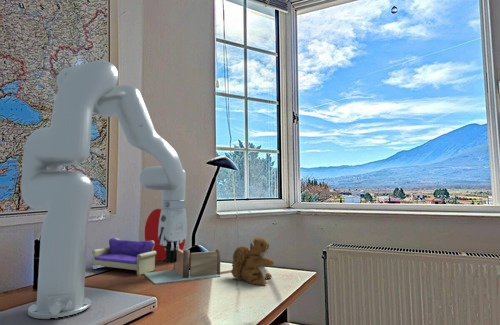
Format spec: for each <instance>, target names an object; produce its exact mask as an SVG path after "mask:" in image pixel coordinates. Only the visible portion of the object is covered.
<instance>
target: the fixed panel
mask: <svg viewBox="0 0 500 325" xmlns="http://www.w3.org/2000/svg"><path fill="white" fill-rule="evenodd" d="M182 251H183V278H189V276H199V275H208V274H218V275H220V276H221V255H222V254H221V252H222V250H221V249H219V248H218V249H215V250H214V251H213V250H212V251H201V252H199V251H198V252H190V249H184V250H182ZM189 268H190V275H189Z"/></svg>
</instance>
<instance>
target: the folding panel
mask: <svg viewBox="0 0 500 325" xmlns="http://www.w3.org/2000/svg"><path fill="white" fill-rule="evenodd" d="M173 270H176V271H177V272H178V273H180V274H181V275H182V276H183V250H181V249H179V247H178V250H177V262H175V263H173Z"/></svg>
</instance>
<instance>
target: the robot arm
mask: <svg viewBox="0 0 500 325" xmlns="http://www.w3.org/2000/svg"><path fill="white" fill-rule="evenodd" d="M118 80H119V72H118V69H117V67H116V66H115V65H114V63H112V62H109V61H107V60H101V59H100V60H99V59H97V60H92V61H90V62H84V63H81V64H80V63H79V64H77V65H72V66H68V67H67V66H66V67H65V68H63V69H61V70H60V71H59V73H58V74H57V77H56V85H57V88H58V90H57V92H56V94H55V96H54V101H53V106H52V113H51V121H50V126H45V127H40V128H38V129H36V130H34V131H32V133H30V134H29V136H28V137H27V139H26V141H25V143H24V147H23V154H22V166H21V167H22V169H21V178H20V179H21V183H20V191H21V192H20V193H21V197H22V199H23V201H24V203H25V204H26V206H28V207H30V208H31V209H32V210H33V209H34V210H36V211H37V210H38V211H44V212H45V211H47V213H46V215H45V218H44V220H43V222H42V227H41V228H40V229H41V232H40V239H39V240H40V243H39V260H38V261H39V262H38V274H37V275H38V277H37V294H36V302H35V303H33V304H31V305H30V306H29V307H28V309H27V315H28V316H29V317H31V318H34V319H38V320H39V319H42V320H51V319H50V318H55V319H59V318H58V317H63V316H67V315H71V314H75V313H78V312H81V311H83V310H85V309H86V308H88V307H89V306H90V305H91V306H92V301H91V299H89V298H88V297H85V284H86V280H85V279H86V264H87V263H86V262H87V248H88V247H87V244H88V243H87V242H88V229H89V228H88V226H89V217H90V212H91V209H92V204H93V200H94V196H95V189H94V184H93V182H92V180H91V179H90V178H89V177H88V176H87V175H85V174H84V173H82V172H79V171H76V170H62V168H63V166H71V165H72V166H74V165H75V166H76V165H79V164H82V163H83V162H85V161H86V160H87V159H88V157H89V154H90V149H91V138H92V137H91V136H92V123H93V113H94V114H96V115H98V116H101V117H104V118H112V117H116V118H117V119H118V120H117V121H118V122H119V124H120V127H121V129H122V131H123V133H124V135H125V138H126V141H127V143H129V145H130V146H132V147H134V148H136V149H138V150H140V151H142V152H145V153H147V154H149V155H150V156H152V157H154V158H155V159H156V160H157V161H158V162H159V164H160V165H157V166H156V165H155V166H147V167H145V168H143V169H142V170H141V172H140V174H139V182H140V185H141V186H142V187H143V188H145V189H146V190H149V191H150V190H151V191H161V209H162V210H161V213H160V219H159V227H158V239H159V240H160V245H162V246H164V247H165V250H166V260H165V263H170V264H174V263H175V262H177V250H178V247H179V244H180V243H181V242H183V240H184V239H185V240H186V239H187V237H188V218H187V210H186V186H187V183H186V182H187V180H186V179H187V172H186V170H185V169H184V168H183V164H182V162H181V160H180V156H179V155H178V153H177V151H176V150H175V148H173V146H171V144H170V143H169V142H167V140H165V139H164V138H163V137H162V136H161V135H160V134H158V133H157V131H156V129H155V127H154V124H153V121H152V119H151V116H150V114H149V111H148V108H147V106H146V103H145V101H144V97H143V96H142V94H141V91H140V90H139V89H138V88H137V87H136V86H134V85H131V84H123V85H122V84H121V85H117V83H118ZM91 306H90V307H91ZM63 318H64V317H63Z"/></svg>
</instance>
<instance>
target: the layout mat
mask: <svg viewBox="0 0 500 325" xmlns="http://www.w3.org/2000/svg"><path fill="white" fill-rule="evenodd" d="M143 275H144V276H145V277H146V278H147V279H148V280H149V281H150V282H151V283H153V285H161V284H168V283H169V284H170V283H179V282H186V281H193V280H195V281H196V280H203V279H211V278H212V279H213V278H218V277H219V278H220V277H221V274H220V275H218V274H208V275H199V276H189V278H183V276H182V275H181V274H180V273H178V272H177V271H176V270H174V269H173V270H172V269H171V270H161V271H153V272H152V271H150V272H148V273H144V274H143ZM189 275H190V270H189Z"/></svg>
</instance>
